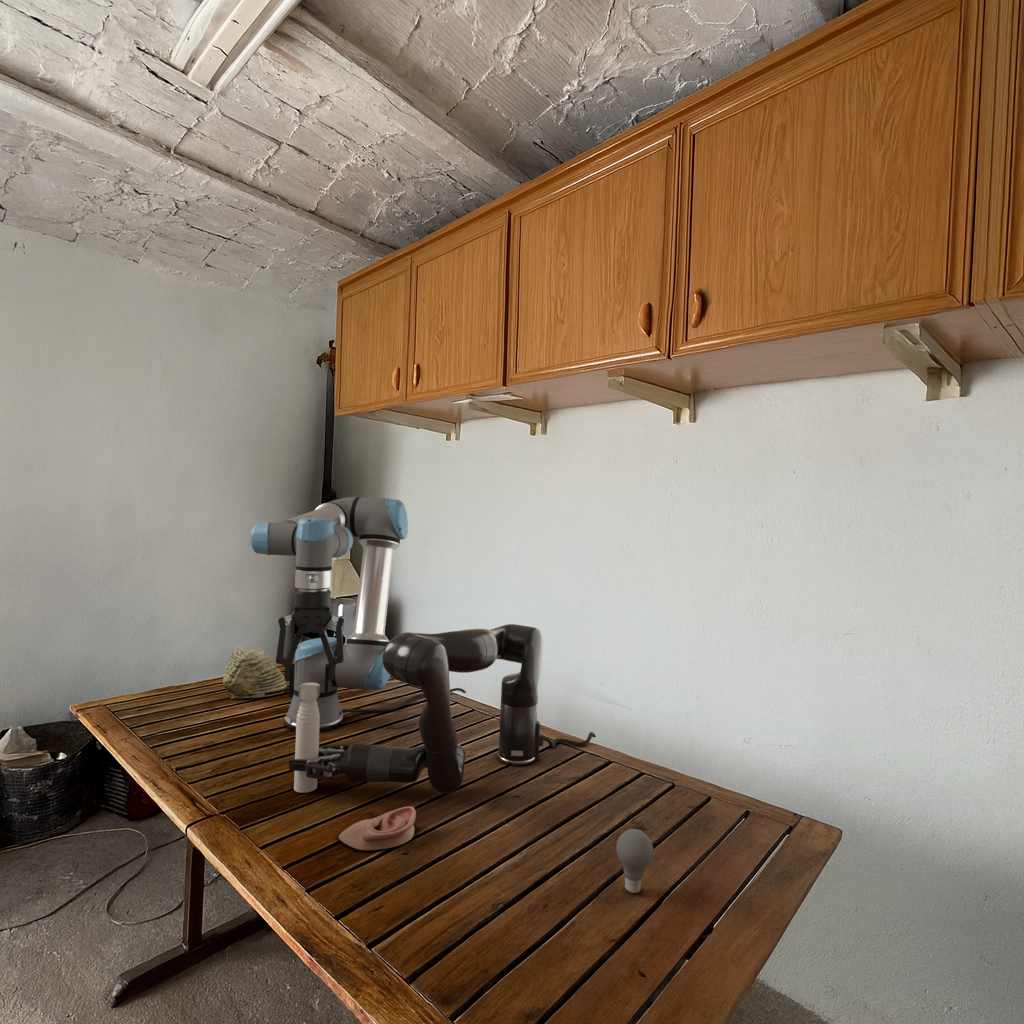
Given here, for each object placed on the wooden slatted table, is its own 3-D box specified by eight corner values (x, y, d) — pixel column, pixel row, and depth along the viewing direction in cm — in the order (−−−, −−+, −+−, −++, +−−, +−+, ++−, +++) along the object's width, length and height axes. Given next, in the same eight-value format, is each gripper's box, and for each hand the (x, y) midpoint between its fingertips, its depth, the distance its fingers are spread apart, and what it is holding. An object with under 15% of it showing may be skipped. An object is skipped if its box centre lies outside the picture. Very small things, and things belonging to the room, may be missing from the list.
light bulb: (610, 879, 108) (613, 822, 108) (644, 879, 109) (647, 822, 109) (619, 902, 102) (622, 840, 102) (655, 901, 103) (658, 840, 103)
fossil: (218, 695, 195) (220, 647, 195) (278, 685, 208) (279, 640, 207) (228, 703, 189) (230, 653, 188) (289, 692, 201) (290, 645, 201)
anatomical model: (331, 824, 115) (359, 795, 126) (330, 845, 115) (358, 815, 126) (400, 835, 112) (422, 805, 124) (399, 857, 112) (421, 825, 124)
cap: (323, 696, 137) (323, 686, 137) (303, 700, 134) (304, 689, 134) (313, 692, 140) (314, 681, 140) (295, 695, 137) (295, 684, 137)
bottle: (304, 780, 141) (308, 683, 140) (321, 785, 139) (325, 687, 138) (289, 789, 136) (292, 689, 136) (306, 794, 134) (310, 693, 134)
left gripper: (262, 591, 131) (258, 702, 131) (359, 592, 135) (355, 699, 136) (267, 586, 138) (264, 691, 139) (359, 587, 143) (355, 688, 143)
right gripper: (380, 733, 144) (306, 730, 145) (364, 759, 130) (282, 755, 130) (379, 766, 144) (304, 762, 145) (363, 795, 130) (280, 791, 130)
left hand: (309, 694), depth 137 cm, fingers open, 6 cm apart
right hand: (294, 759), depth 137 cm, fingers closed on bottle, 5 cm apart
